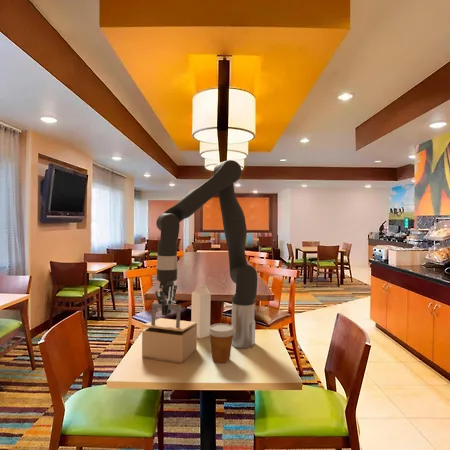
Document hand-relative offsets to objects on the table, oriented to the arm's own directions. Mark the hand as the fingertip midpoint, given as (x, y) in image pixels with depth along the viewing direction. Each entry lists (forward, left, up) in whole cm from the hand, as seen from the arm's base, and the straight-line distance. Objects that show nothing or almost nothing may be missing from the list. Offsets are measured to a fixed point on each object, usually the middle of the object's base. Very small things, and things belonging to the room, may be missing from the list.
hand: (166, 313), depth 126 cm
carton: (0, -4, -16) cm, 17 cm away
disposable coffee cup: (-20, -5, -16) cm, 26 cm away
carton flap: (0, -4, -5) cm, 6 cm away
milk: (-4, -26, -16) cm, 31 cm away
